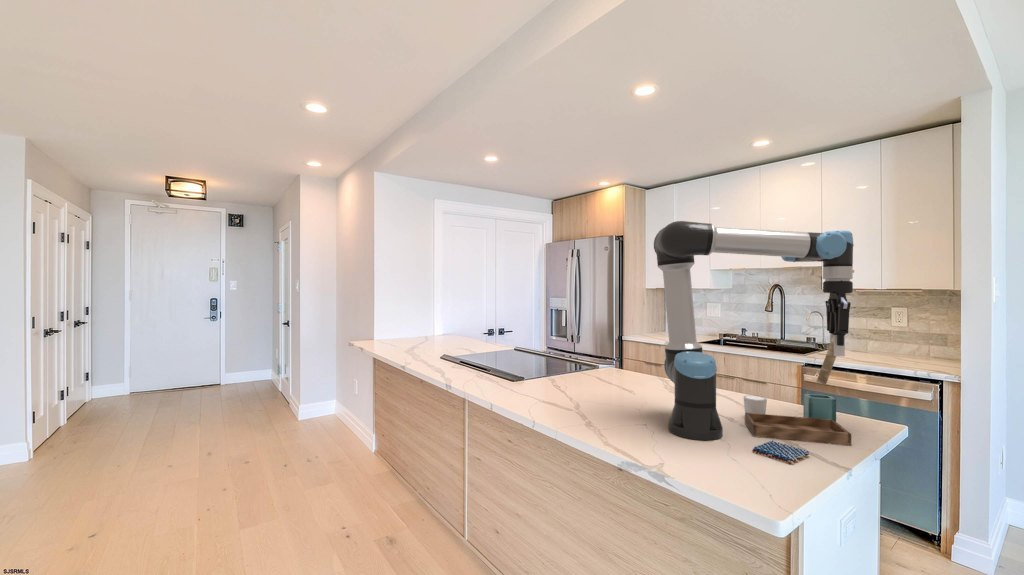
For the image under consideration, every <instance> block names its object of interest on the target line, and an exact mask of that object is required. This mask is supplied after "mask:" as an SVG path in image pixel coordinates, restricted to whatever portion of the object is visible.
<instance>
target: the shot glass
mask: <svg viewBox="0 0 1024 575" xmlns="http://www.w3.org/2000/svg"><path fill="white" fill-rule="evenodd" d="M742 398H743V405H744V414H745V413H756V414H766V411H767V401H768V399H767V398H766V397H763V396H760V395H759V396H758V395H744V396H743V397H742Z"/></svg>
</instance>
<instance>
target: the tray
mask: <svg viewBox="0 0 1024 575" xmlns="http://www.w3.org/2000/svg"><path fill="white" fill-rule="evenodd" d="M744 423H745V425H746V427H747V426H748V427H747V428H748V430H749V431H750V433H751V434H752V436H753V437H755V438H765V437H766V438H767V439H768V438H769V439H775V438H776V439H777V440H787V441H796V440H798V442H807V441H808V442H807V443H817V444H828V443H831V444H830V445H838V444H841V445H840V446H848V445H849V446H850V447H851V446H852V433H851V432H850V431H848V429H846V428H844V427H843V426H842V425H841V424H839V423H838V422H837V421H836V422H835V421H834V420H830V419H818V418H805V417H804V416H803V417H801V416H793V415H792V416H790V415H778V414H766V413H765V414H756V413H745V412H744Z"/></svg>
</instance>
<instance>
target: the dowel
mask: <svg viewBox="0 0 1024 575" xmlns="http://www.w3.org/2000/svg"><path fill="white" fill-rule="evenodd" d="M834 333H835V332H834ZM836 359H837V356H834V335H833V337H832V340H831V343H830V342H829V345H828V349H827V351H826V354H825V357H824V359H823V362H822V364H821V365H822V366H821V368H820V371H819V373H818V376H817V378H816V383H819V384H820V385H825V386H826V385H827V384H828V381H829V377H830V376H831V373H832V369H833V367H834V364H835V362H836Z"/></svg>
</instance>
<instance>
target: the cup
mask: <svg viewBox="0 0 1024 575" xmlns="http://www.w3.org/2000/svg"><path fill="white" fill-rule="evenodd" d="M803 417H805V418H818V419H830V420H834V421H835V422H837V399H836V398H835V397H833V396H831V395H830V394H829V395H827V394H817V393H816V394H815V393H814V394H813V393H803Z"/></svg>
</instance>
